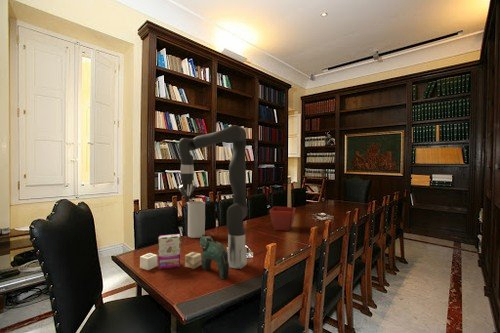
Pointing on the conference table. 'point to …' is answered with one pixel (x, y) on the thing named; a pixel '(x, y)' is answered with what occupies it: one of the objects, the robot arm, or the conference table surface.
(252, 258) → the conference table surface
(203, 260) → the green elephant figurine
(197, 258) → the maple block one
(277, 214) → the plant pot
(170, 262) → the candy bar box
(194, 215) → the cylinder vase
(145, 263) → the white block two
